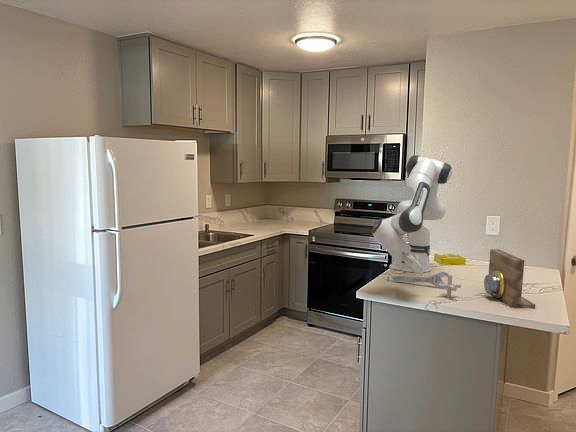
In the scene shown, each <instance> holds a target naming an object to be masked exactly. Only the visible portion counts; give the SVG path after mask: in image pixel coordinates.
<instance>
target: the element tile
mask: <svg viewBox="0 0 576 432" xmlns="http://www.w3.org/2000/svg"><path fill="white" fill-rule="evenodd" d="M433 261H434V262H436V263H437V264H439V265H442V266H466V261H467V259H466V258H465V257H464V256H461V255H459V254H456V253H434V255H433Z"/></svg>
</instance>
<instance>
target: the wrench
mask: <svg viewBox="0 0 576 432" xmlns="http://www.w3.org/2000/svg"><path fill="white" fill-rule="evenodd" d="M449 274H450V273H448V272H447V271H445V270H444V271H439V272H436V273H435V274H430V275H428V276H427V275H395V274H394V275H391V274H390V275H388V276H387V277H386V280H387V282H392V283H428V284H431V285H433V287H434V288H436V289H439V288H438V284H443V282H444V281H443V277H446V278H448V275H449ZM389 278H391V279H392V280H390V279H389Z"/></svg>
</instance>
